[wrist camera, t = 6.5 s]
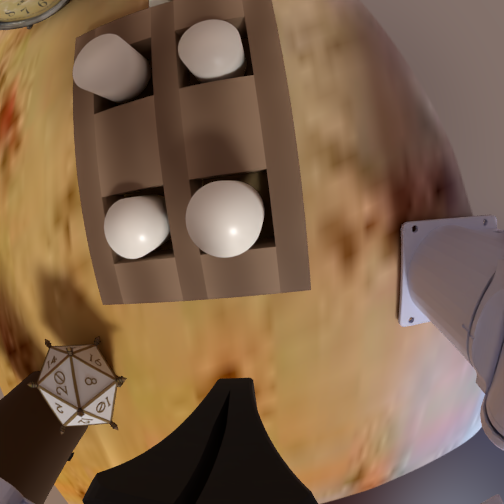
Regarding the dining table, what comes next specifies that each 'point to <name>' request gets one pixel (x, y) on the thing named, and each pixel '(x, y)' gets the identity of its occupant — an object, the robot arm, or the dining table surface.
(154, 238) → the white rounded piece
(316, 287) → the dining table surface
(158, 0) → the pattern tile
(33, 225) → the dining table surface
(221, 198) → the white rounded cylinder
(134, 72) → the button
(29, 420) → the olive oil
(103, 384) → the game die
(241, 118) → the board
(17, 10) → the alarm clock
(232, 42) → the white rounded cylinder
